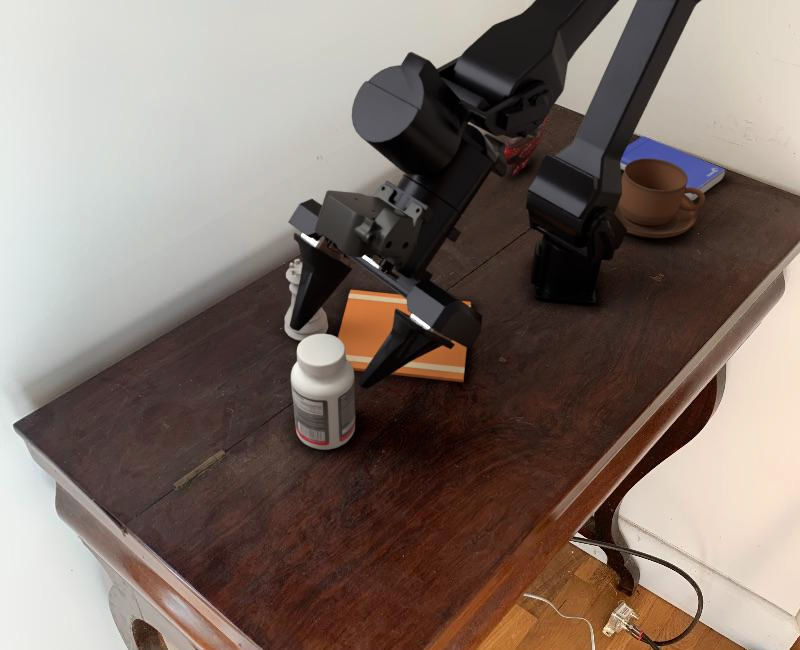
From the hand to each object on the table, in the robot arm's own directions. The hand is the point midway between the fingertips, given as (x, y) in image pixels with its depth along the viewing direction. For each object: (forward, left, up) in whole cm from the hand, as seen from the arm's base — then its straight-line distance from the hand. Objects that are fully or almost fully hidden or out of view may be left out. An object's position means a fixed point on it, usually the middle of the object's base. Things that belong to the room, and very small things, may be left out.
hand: (326, 357), depth 67 cm
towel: (-5, -14, -9) cm, 17 cm away
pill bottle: (0, 0, -9) cm, 9 cm away
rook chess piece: (+5, -13, -9) cm, 16 cm away
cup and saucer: (-32, -40, -9) cm, 51 cm away
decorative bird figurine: (-16, -47, -9) cm, 50 cm away
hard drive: (-36, -52, -9) cm, 63 cm away
